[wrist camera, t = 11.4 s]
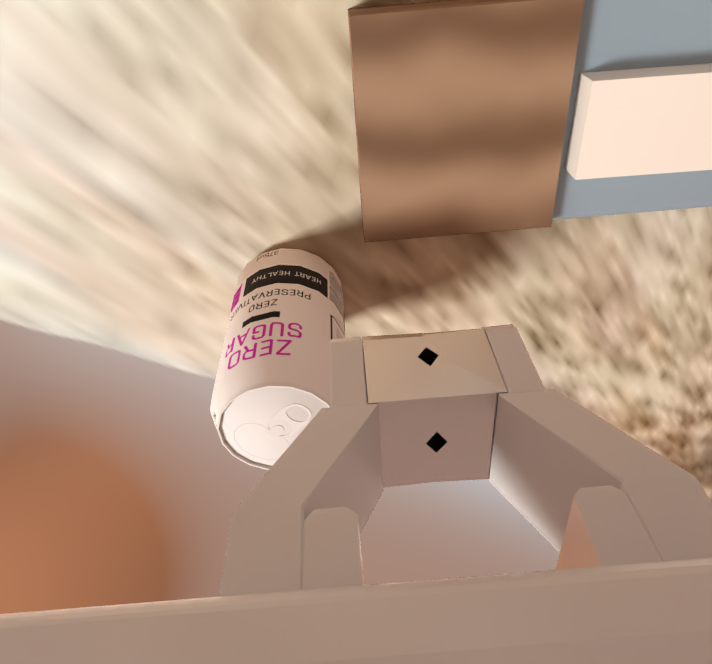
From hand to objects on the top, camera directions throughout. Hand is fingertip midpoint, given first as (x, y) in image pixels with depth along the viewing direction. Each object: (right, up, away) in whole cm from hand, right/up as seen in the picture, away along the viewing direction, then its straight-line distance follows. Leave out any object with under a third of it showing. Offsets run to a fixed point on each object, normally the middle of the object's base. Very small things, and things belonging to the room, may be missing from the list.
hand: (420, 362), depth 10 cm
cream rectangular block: (+17, +14, +27) cm, 35 cm away
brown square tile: (+5, +14, +28) cm, 32 cm away
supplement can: (-6, +4, +36) cm, 37 cm away
